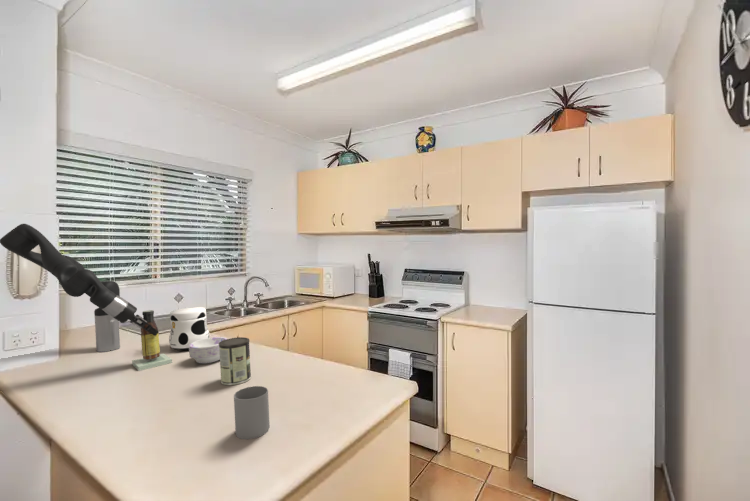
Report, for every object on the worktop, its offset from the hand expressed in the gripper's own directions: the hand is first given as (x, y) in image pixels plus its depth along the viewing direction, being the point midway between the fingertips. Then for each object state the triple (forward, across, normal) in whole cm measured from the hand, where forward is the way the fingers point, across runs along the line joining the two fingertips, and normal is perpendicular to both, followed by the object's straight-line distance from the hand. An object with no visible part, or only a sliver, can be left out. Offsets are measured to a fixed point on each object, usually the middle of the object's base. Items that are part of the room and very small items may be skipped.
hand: (154, 332), depth 151 cm
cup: (+11, +84, -8) cm, 85 cm away
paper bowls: (+21, +15, +2) cm, 26 cm away
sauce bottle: (+6, 0, -9) cm, 11 cm away
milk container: (+22, -13, +3) cm, 25 cm away
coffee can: (+19, +46, +1) cm, 50 cm away
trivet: (+8, 0, -10) cm, 13 cm away
